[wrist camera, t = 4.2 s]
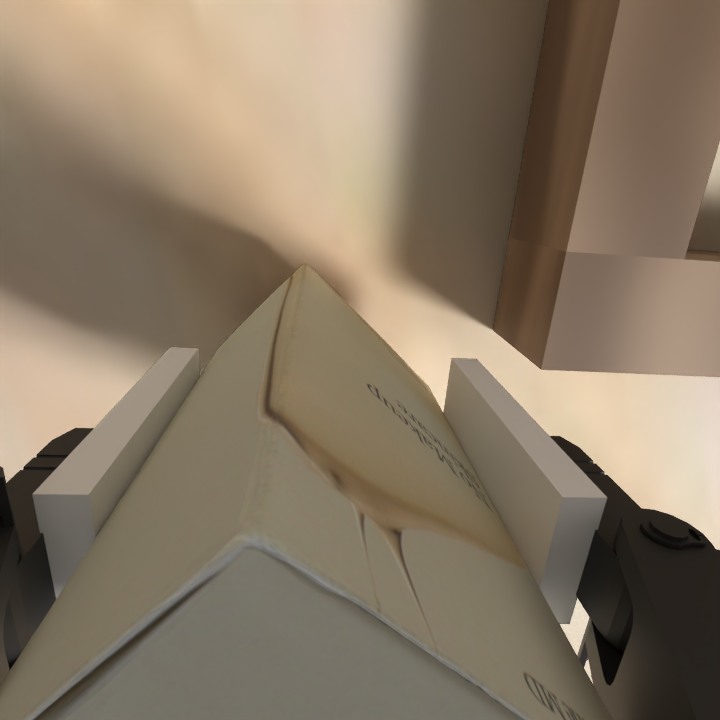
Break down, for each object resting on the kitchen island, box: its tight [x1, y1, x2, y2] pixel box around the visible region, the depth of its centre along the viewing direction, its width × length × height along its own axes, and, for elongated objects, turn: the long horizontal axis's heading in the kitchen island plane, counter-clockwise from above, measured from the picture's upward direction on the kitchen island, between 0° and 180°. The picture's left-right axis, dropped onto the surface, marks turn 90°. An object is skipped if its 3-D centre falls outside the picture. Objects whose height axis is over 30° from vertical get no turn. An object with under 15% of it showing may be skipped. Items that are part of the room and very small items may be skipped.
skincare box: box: [0, 264, 613, 720], centre depth 10 cm, size 6×4×12 cm
